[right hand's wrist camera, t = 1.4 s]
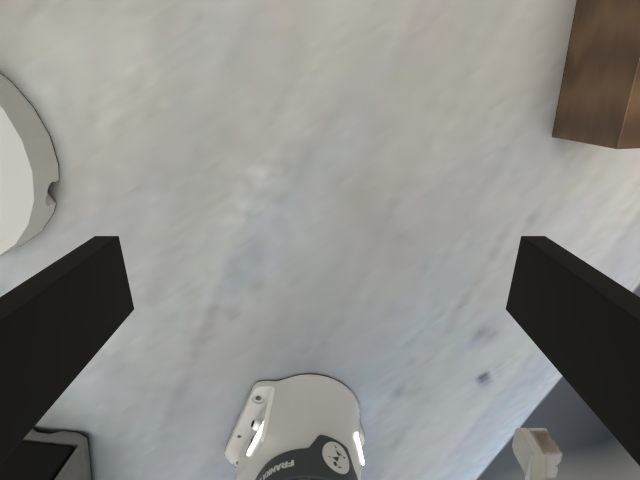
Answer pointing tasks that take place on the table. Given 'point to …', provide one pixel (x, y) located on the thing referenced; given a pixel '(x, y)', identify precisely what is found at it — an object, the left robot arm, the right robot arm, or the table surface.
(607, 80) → the bar
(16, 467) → the electronic device
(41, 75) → the table surface
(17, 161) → the ashtray
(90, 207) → the table surface
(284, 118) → the table surface
